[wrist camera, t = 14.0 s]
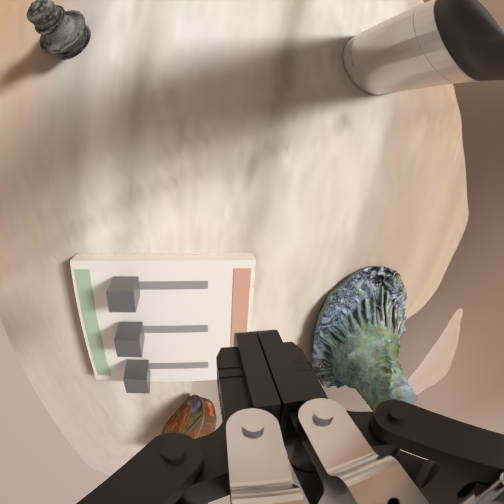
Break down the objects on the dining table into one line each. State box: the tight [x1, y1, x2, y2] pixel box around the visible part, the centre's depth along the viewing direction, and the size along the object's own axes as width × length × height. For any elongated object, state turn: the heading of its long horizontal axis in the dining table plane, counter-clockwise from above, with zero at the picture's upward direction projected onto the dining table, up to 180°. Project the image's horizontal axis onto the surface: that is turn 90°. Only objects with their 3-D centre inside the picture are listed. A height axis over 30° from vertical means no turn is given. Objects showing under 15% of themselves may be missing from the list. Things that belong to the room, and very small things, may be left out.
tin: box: [162, 395, 216, 439], centre depth 39 cm, size 15×3×8 cm, turn 145°
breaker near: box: [106, 276, 140, 313], centre depth 30 cm, size 3×2×4 cm
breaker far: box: [123, 360, 151, 393], centre depth 33 cm, size 3×2×4 cm
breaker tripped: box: [114, 322, 145, 357], centre depth 32 cm, size 3×2×4 cm
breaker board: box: [70, 253, 256, 381], centre depth 36 cm, size 22×18×3 cm
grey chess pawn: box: [27, 0, 91, 59], centre depth 17 cm, size 6×6×12 cm
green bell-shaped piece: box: [311, 266, 417, 412], centre depth 39 cm, size 19×21×19 cm
